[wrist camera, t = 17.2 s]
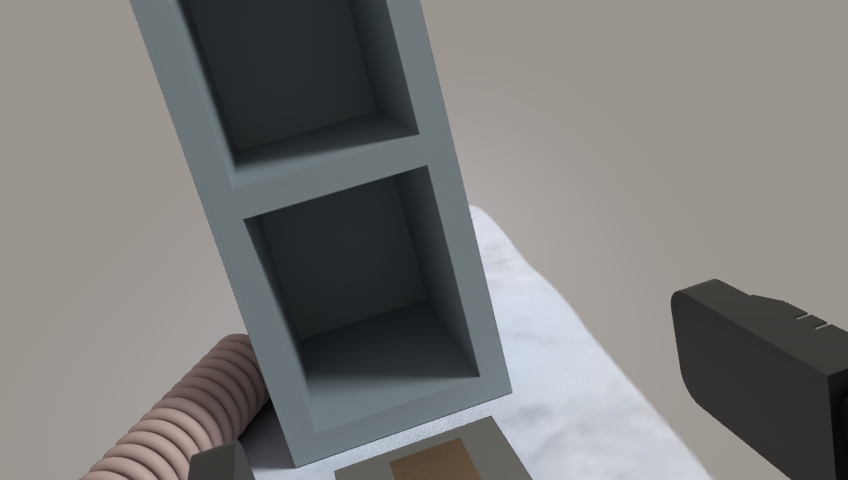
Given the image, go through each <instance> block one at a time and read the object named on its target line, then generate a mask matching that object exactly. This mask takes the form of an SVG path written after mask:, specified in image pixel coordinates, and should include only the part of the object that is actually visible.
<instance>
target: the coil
mask: <svg viewBox="0 0 848 480" xmlns="http://www.w3.org/2000/svg"><path fill="white" fill-rule="evenodd" d="M269 397H270V394H269V391H268V388H267V386H266V383H265V380H264V377H263V374H262V371H261V369H260V366H259V363H258V360H257V357H256V355H255V352H254V349H253V346H252V343H251V341H250V338H249V335H245V334H232V335H228V336H226V337H224V338H223V339H222V340H220V341H219V342H218V344H217V345H216V346H215V347H213V348H212V349H211V350H210V352H209V353H208V354H207V355H205V356H204V357H203V358H202V359H201V361H200V362H199V363H198V364H196V365H195V366H194V367H193V368H192V370H191V371H190V372H188V373H187V374H186V375H185V376H184V377H183V378H182V380H181V381H180V382H178V383H177V384H176V385H175V386H174V387H173V388H172V390H171V391H169V392H168V393H167V394H166V395H164V397H163V398H162V400H161V401H159V402H158V403H157V404H155V405H154V407H153V408H152V409H151V411H150V412H148V413H147V414H145V415H144V416H143V417H142V418H141V420H140V422H139V423H137V424H136V425H134V426H133V427H132V428H131V429H130V430H129V432H128V434H127V435H125V436H124V437H122V438H121V439H120V440H119V441H118V442H117V444H116V446H115V447H113V448H112V449H110V450H109V451H108V452H107V453H106V454H105V455H104V457H103V459H102V460H100V461H99V462H97V463H96V464H95V465H93V467H92V468H91V469H90V471H89V473H88V474H86V475H84V476H83V477H82V478H80V479H79V480H188V473H189V466H190V460H191V456H192V455H194V454H196V453H199V452H202V451H205V450H208V449H211V448H214V447H217V446H220V445H223V444H226V443H229V442H232V441H235V440H237V439H238V437H239V436H240V435H241V434H242V433H243V432H244V430H245V429H246V427H247V426H248V425H249V424H250V423H251V422H252V420H253V418H254V417H255V416H256V415H257V414H258V412H259V411H260V410H261V408H262V406H264V404H265V403H266V402H267V401H268V399H269Z"/></svg>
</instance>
